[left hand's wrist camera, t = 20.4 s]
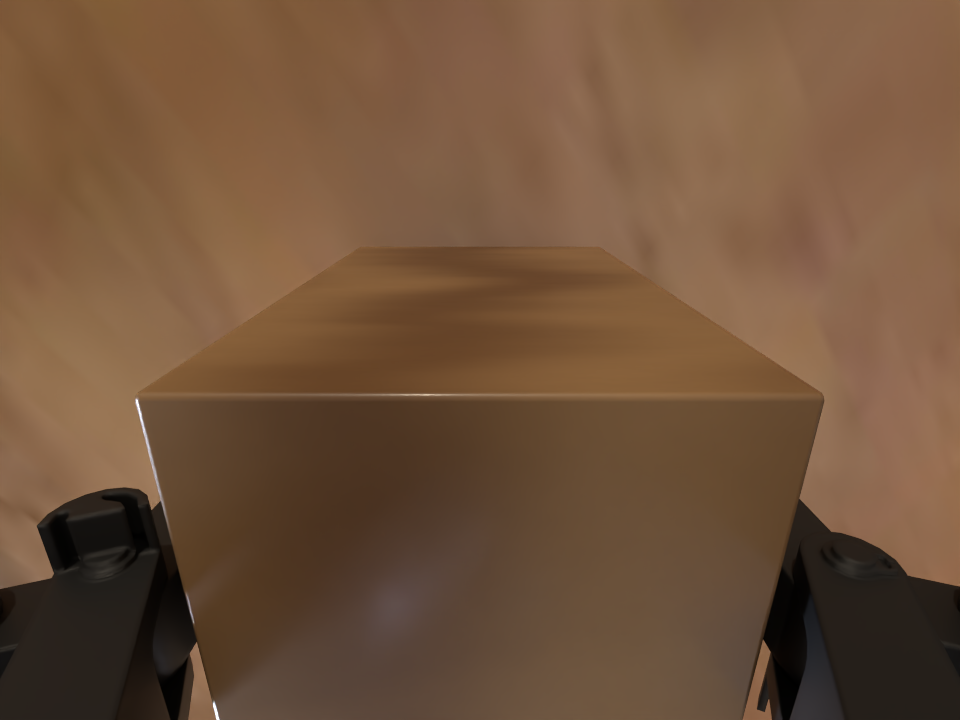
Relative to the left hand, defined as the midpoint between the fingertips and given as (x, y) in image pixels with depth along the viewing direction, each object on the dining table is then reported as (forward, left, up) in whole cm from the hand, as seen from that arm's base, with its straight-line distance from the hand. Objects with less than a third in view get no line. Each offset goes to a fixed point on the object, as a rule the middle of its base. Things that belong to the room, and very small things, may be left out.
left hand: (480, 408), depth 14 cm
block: (0, 0, -3) cm, 3 cm away
